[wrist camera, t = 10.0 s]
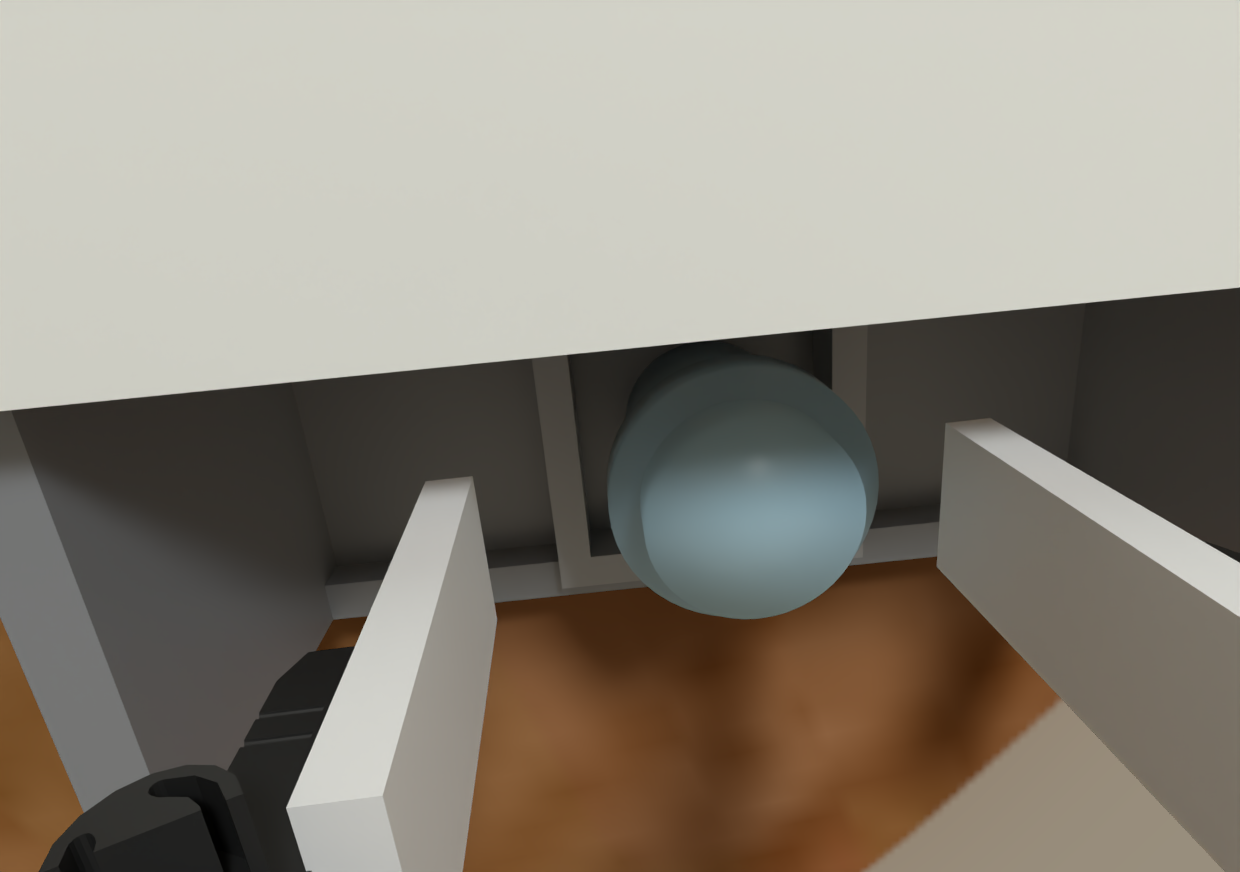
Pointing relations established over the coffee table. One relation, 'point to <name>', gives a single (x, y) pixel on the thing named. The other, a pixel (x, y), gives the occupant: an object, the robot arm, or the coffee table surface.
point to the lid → (583, 176)
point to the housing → (510, 494)
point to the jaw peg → (738, 482)
